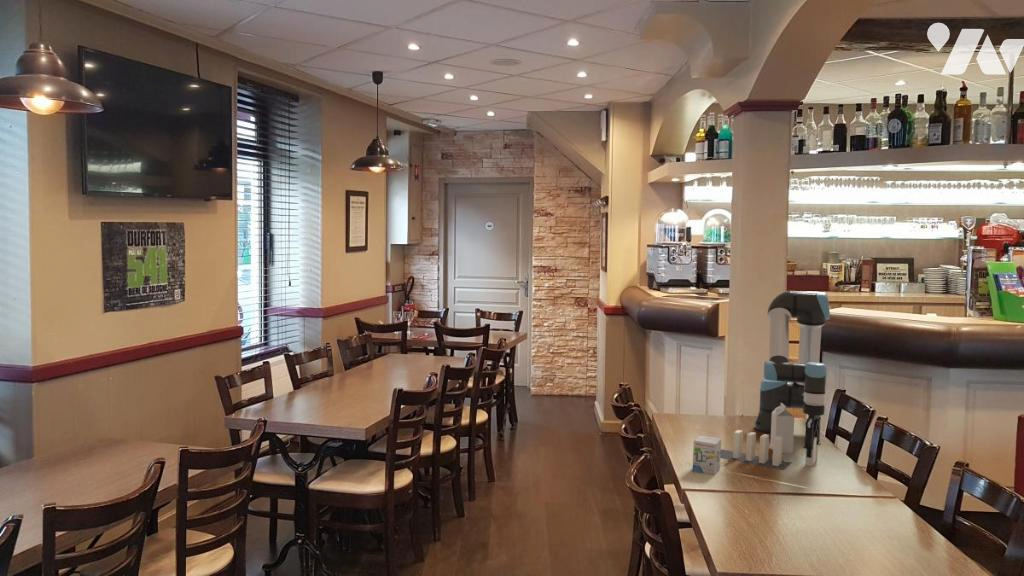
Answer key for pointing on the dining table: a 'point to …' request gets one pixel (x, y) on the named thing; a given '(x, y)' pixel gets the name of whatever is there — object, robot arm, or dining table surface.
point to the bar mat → (729, 455)
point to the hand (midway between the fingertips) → (811, 463)
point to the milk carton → (783, 428)
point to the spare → (814, 449)
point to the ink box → (706, 455)
